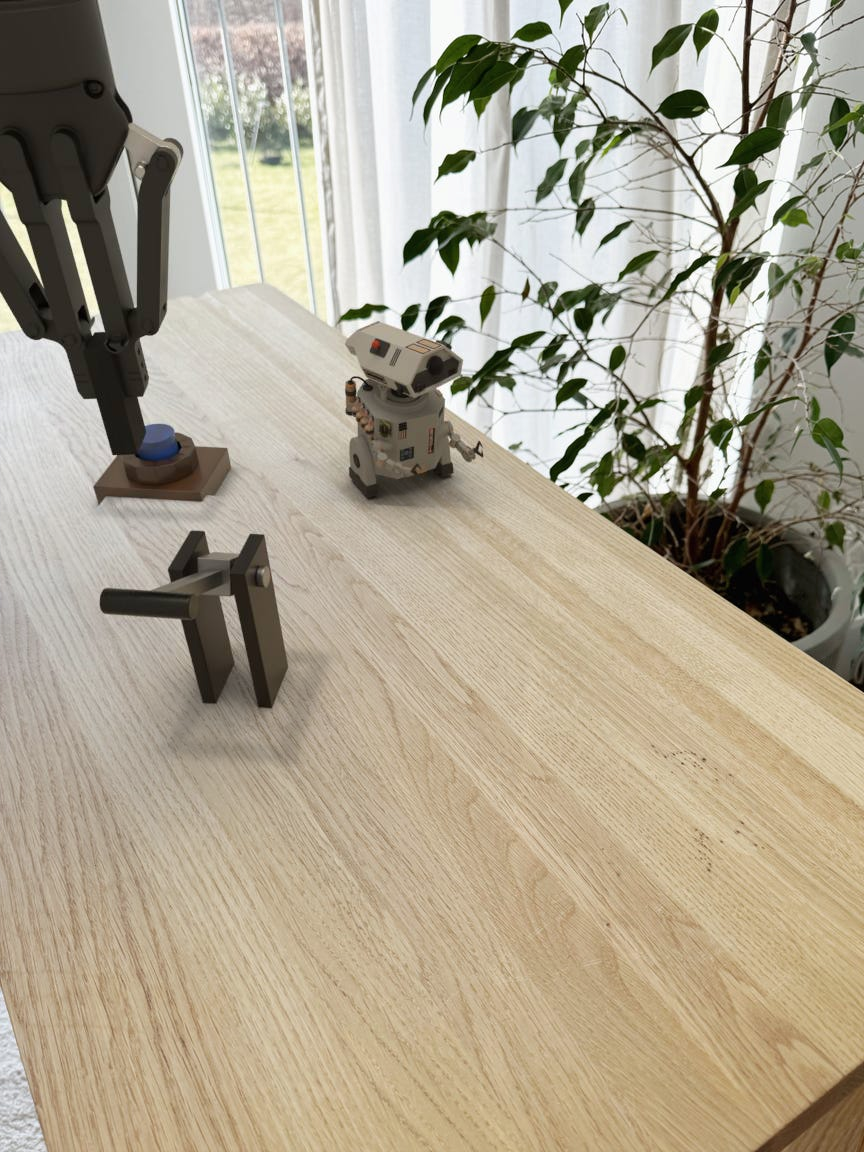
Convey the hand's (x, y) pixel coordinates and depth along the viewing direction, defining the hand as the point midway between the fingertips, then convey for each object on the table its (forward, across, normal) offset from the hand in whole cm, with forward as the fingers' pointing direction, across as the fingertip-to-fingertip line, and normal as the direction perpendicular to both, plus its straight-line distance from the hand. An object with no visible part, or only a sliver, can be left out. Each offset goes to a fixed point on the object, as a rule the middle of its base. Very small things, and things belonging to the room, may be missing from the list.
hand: (129, 443), depth 61 cm
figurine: (+20, +16, +25) cm, 36 cm away
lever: (+7, +3, -7) cm, 11 cm away
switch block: (+20, -7, +27) cm, 34 cm away
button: (+16, -7, +27) cm, 32 cm away
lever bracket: (+20, +4, -2) cm, 20 cm away
